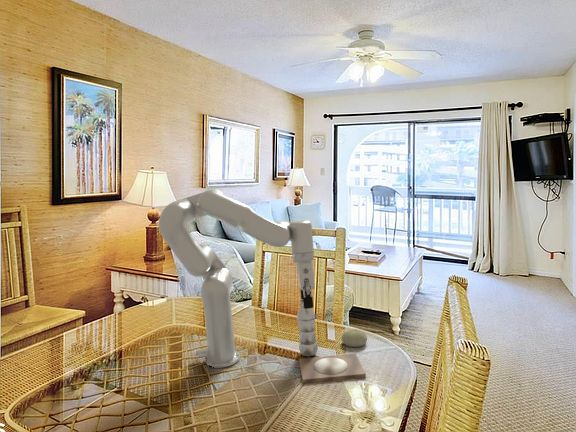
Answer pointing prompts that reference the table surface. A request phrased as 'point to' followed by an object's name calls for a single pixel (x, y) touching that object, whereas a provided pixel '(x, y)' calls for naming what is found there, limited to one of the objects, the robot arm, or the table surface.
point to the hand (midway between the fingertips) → (307, 303)
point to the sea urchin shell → (354, 338)
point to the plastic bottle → (307, 331)
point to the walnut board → (331, 368)
